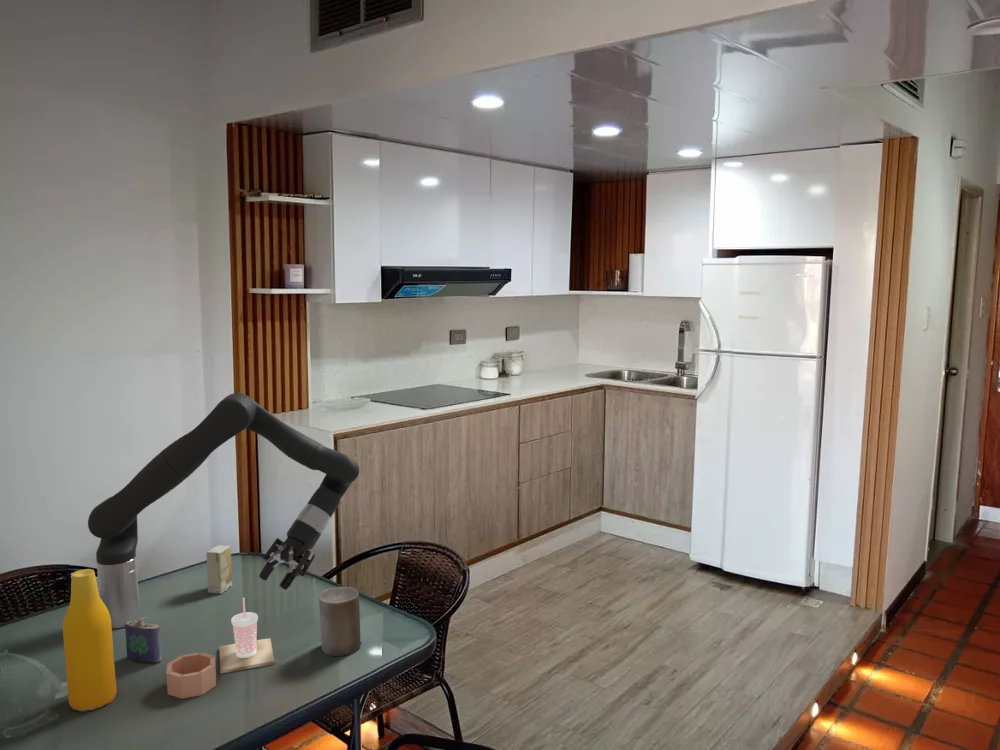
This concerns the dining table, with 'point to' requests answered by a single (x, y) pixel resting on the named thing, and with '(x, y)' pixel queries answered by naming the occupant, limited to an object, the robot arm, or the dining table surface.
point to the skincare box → (219, 569)
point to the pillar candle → (340, 621)
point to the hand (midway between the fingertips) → (272, 583)
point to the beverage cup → (245, 633)
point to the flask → (143, 642)
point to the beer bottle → (88, 645)
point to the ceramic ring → (191, 675)
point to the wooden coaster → (235, 663)
